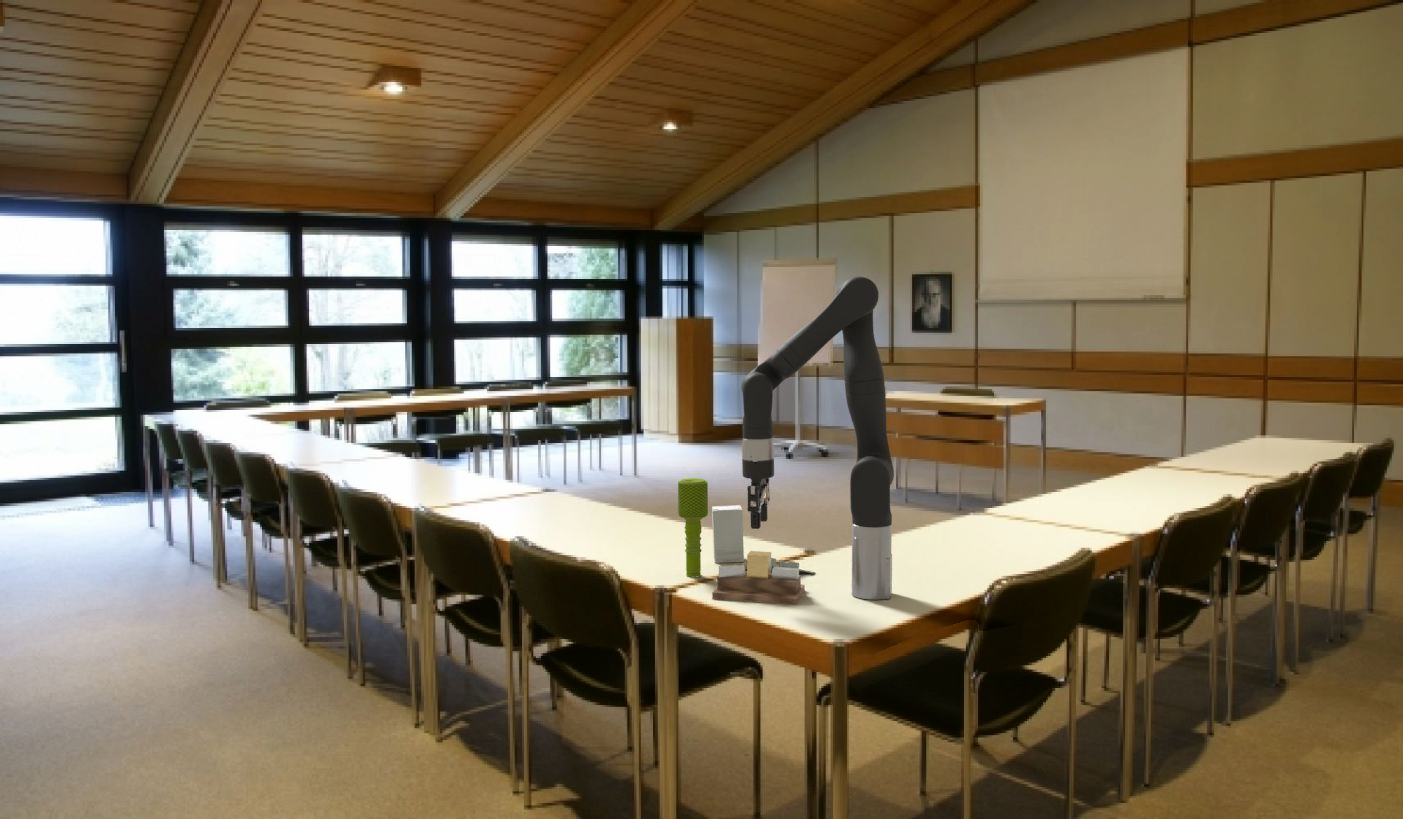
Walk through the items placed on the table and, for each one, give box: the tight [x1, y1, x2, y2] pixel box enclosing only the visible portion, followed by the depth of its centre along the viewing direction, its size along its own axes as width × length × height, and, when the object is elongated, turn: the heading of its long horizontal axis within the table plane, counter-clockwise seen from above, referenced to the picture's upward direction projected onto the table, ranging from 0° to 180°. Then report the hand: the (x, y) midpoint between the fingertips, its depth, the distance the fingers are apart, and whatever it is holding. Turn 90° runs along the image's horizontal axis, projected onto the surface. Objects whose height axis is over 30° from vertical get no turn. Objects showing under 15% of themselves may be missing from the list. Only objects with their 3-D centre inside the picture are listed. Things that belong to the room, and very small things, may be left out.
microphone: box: [677, 477, 709, 578], centre depth 259 cm, size 8×8×25 cm
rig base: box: [711, 571, 806, 605], centre depth 241 cm, size 20×12×4 cm, turn 75°
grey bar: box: [718, 564, 800, 580], centre depth 240 cm, size 19×4×2 cm, turn 75°
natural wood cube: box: [746, 550, 772, 579], centre depth 241 cm, size 5×4×6 cm
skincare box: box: [711, 504, 745, 564], centre depth 275 cm, size 8×6×15 cm
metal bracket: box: [771, 557, 816, 574], centre depth 261 cm, size 14×6×15 cm
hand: (759, 524), depth 240 cm, fingers open, 8 cm apart
